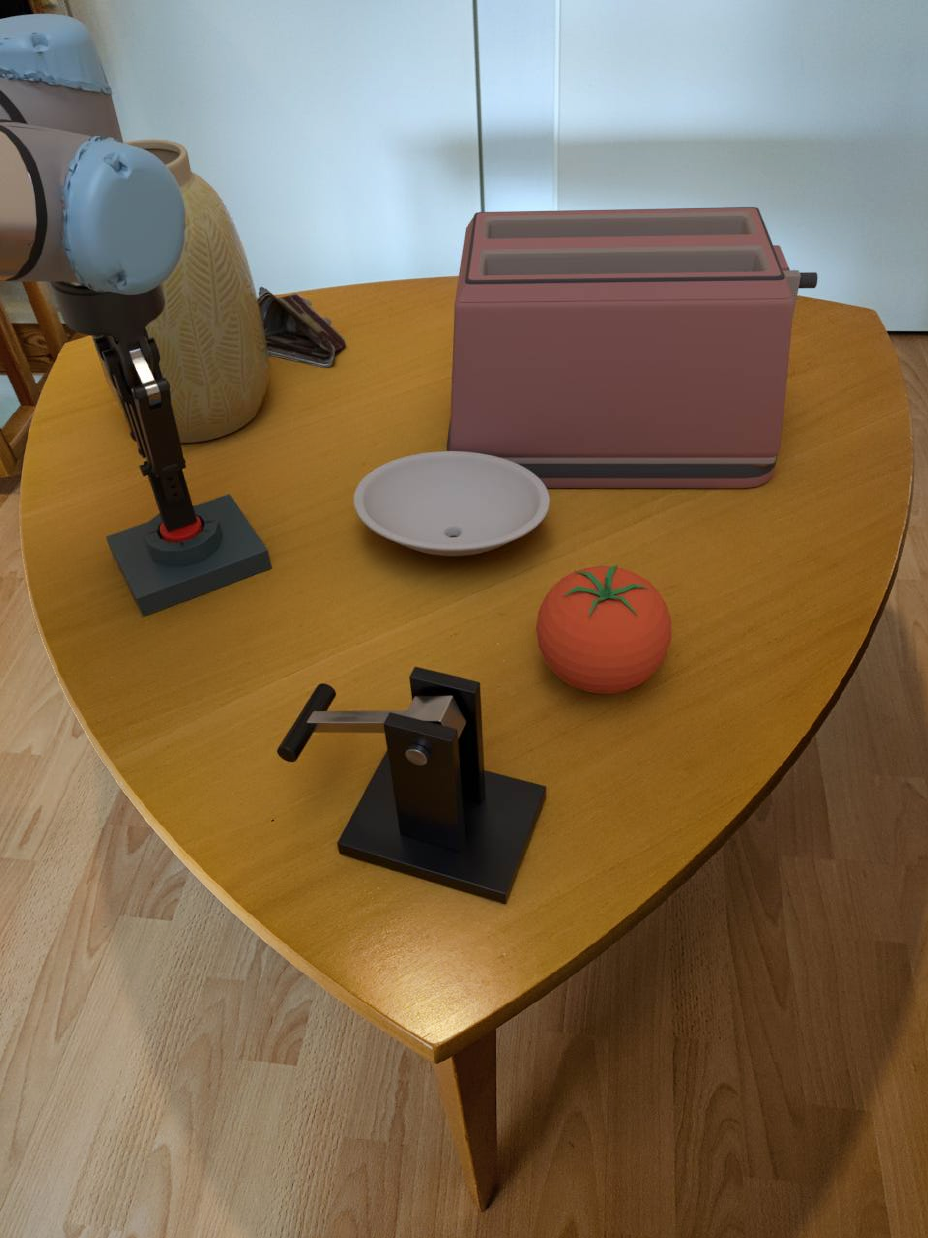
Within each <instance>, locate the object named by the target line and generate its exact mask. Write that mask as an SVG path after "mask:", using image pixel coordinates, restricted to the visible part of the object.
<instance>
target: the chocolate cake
mask: <svg viewBox="0 0 928 1238" xmlns="http://www.w3.org/2000/svg"><path fill="white" fill-rule="evenodd" d="M258 288H259V292H258V297H257V299H258V303H259V308H260V312H261V317H262V322H263V326H264V332H265V338H266V343H267V350H268V355H270V356H273V357H277V358H282V359H286V360H289V361H294V362H300V363H304V364H308V365H312V366H315V367H319V368H328V367H330V366H332V365H333V362H334V359H335V354H336V353H335V352H339V351H340V350H341V349H344V348H346V347H347V344H346V339H345V338H344V337H343V336H342V334H340V333H339V331H337V329H335V328H334V327H333V326H332V323H333V321H332V320H331V319H330V318H329V317H322V316H321V314H320V313H319V312H317V311H316V310H314V309H313V308H312V305H313V302H312V301H311V300H309V299H306V298H304V297H302V296H301V295H300V294H298V293H294V294H290V295H289V294H288V295H285V296H281V297H277V296H276V295H274V294H273V293H272V292H270V290H268V289H267V288H266V287H265V288H264V287H263V286H260V287H258Z"/></svg>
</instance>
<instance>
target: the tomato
mask: <svg viewBox="0 0 928 1238" xmlns="http://www.w3.org/2000/svg"><path fill="white" fill-rule="evenodd" d="M536 619H537V620H536V626H535V631H536V639H537V644H538V645H537V646H538V648H539V650H540V653H541V655H542V657H543V659H544V661H545V663H546V664H547V665H548V667H549V668H550V669H551V670H552V672H553V673H554V674H555V675H556V676H558V677H559V678H560V679H561V680H562V681H563V682H565V683H567V684H568V685H570V686H572V687H574V688H576V689H579V690H582V691H585V692H589V693H593V694H594V693H596V694H613V693H620V692H624V691H628V690H630V689H634V687H637V686H639V685H640V684H642V683H643V682H645V681H646V680H648V679H649V678H651V676H653V675H654V674H655V672H657V670H658V669H659V668H660V666H661V665H662V663H663V662H664V660H665V659H666V657H667V655H668V652H669V648H670V644H671V641H672V617H671V615H670V612H669V609H668V605H667V602H666V600H665V599H664V598H663V596H662V594H661V593H660V592H659V591H658V589H657V588H656V587H655V586H654V584H652V583H651V582H650V581H648V580H647V579H646V578H644V576H641V575H639V574H637V573H635V572H634V571H631V570H629V569H626V568H623V567H619V564H615V565H613V566H608V565H597V566H591V567H585V568H581V569H578V570H574V572H573V571H572V572H571V573H569V574H567V575H565V576H564V577H562V578H561V579H560V580H559V581H557V582H556V583H555V584H554V585H553V586H552V587H551V588H550V589H549V591H548V593H547V594H546V595H545V597H544V599H543V601H542V602H541V605H540V607H539V610H538V613H537V618H536Z"/></svg>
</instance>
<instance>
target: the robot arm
mask: <svg viewBox="0 0 928 1238" xmlns="http://www.w3.org/2000/svg"><path fill="white" fill-rule="evenodd" d="M107 78H108V77H107V75H106V73H105V69H104V66H103V63H102V60H101V57H100V53H99V51H98V49H97V46H96V43H95V40H94V38H93V35H92V33H91V32H90V30H89V29H88V27H87V26H86V25H85V24H84V23H82V22H81V21H80V20H78V19H76V18H75V17H72V16H69V15H64V14H57V13H33V14H32V13H31V14H21V15H15V16H9V17H6V18H5V17H4V18H0V282H13V283H28V282H29V283H32V282H33V283H34V282H50V287H51V288H52V292H53V294H54V298H55V300H56V304H57V306H58V309H59V312H60V315H61V317H62V320H63V322H64V324H65V325H66V326H67V327H68V329H70V330H72V331H74V332H75V333H78V334H81V335H85V336H91V337H92V336H94V337H96V338H92V340H93V339H94V341H93V344H94V343H95V345H94V347H95V346H96V348H95V350H96V349H97V351H96V353H97V352H98V353H99V355H100V357H101V358H102V360H104V363H105V366H106V369H107V372H108V375H109V378H110V380H111V382H112V384H113V385H114V387H115V390H116V392H117V395H118V398H119V401H120V404H121V406H122V409H123V410H122V409H121V410H122V413H123V415H124V418H125V420H126V423H127V425H128V429H129V431H130V432H129V435H130V438H131V439H132V440H133V441H134V442H135V443H136V444H137V447H138V448H137V452H138V454H139V456H141V457H142V459H146V460H144V461H143V462H142V463H143V464H141V465H138V467H139V470H140V472H141V474H142V477H147V478H148V482H149V485H150V487H151V488H150V489H151V491H152V494H153V496H154V499H155V503H156V506H157V509H158V513H160V516H161V519H162V522H163V524H164V526H165V528H166V529H167V531H168V532H169V531H171V530H174V529H177V528H180V527H183V526H186V525H188V524H191V523H194V522H197V518H196V515H195V512H194V508H193V505H194V504H193V501H192V498H191V495H190V490H189V488H188V484H187V481H186V478H185V474H184V471H183V470H185V469H186V468H187V466H186V464H187V462H186V459H185V457H184V456H185V455H184V453H183V449H182V448H183V447H182V443H180V439H179V435H178V430H177V426H176V421H175V417H174V413H173V408H172V404H171V392H170V388H171V387H170V384H169V382H168V381H167V379H165V378H163V377H162V373H161V370H160V366H159V362H160V354H159V351H158V347H157V344H156V342H155V340H154V338H153V337H152V338H149V337H148V333H147V331H146V328H145V327H146V326H147V325H148V324H149V323H150V322H151V321H153V320H155V319H156V318H157V317H158V316H159V315H160V314H161V313H162V311H163V309H164V307H165V297H164V293H163V289H162V286H161V283H162V282H163V281H165V280H166V279H167V278H168V276H169V275H170V274H171V273H172V271H173V270H174V268H175V266H176V264H177V262H178V260H179V258H180V256H181V253H182V250H183V246H184V242H185V233H184V231H185V228H186V224H185V218H186V210H185V204H184V200H183V196H182V193H181V190H180V188H179V185H178V183H177V181H176V179H175V177H174V176H173V174H172V173H171V172H170V170H169V169H168V168H167V166H166V165H165V164H164V163H163V162H162V161H161V160H160V159H159V158H157V157H156V156H155V155H154V154H152V153H150V152H148V151H146V150H144V149H141V148H139V147H135V146H131V145H128V144H124V139H123V135H122V131H121V128H120V124H119V120H118V115H117V112H116V108H115V104H114V100H113V89H112V88H111V86H110V85H109V82H108V79H107Z"/></svg>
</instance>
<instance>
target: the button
mask: <svg viewBox="0 0 928 1238" xmlns="http://www.w3.org/2000/svg"><path fill="white" fill-rule="evenodd" d="M196 518H197V522H194V523H191V524H188V525H186V526H183V527H180V528H177V529H174V530H171V531H169V532H168V531H167V529H166V528H165V526H164V524H163V522H162V524H161V526H160V532H161V535H162V539H163V540H165V541H168V542H183V541H186V540H189V539H192V538H195V537H196V536H197V535H198V534H199V533H201V532H202V531H203V528H202V524H201V521H200V519H199V517H198V516H196Z"/></svg>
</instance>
